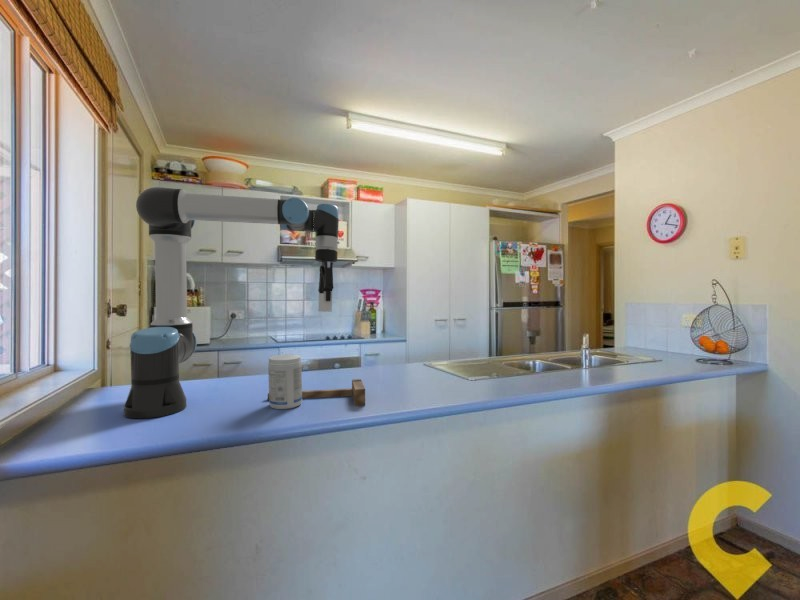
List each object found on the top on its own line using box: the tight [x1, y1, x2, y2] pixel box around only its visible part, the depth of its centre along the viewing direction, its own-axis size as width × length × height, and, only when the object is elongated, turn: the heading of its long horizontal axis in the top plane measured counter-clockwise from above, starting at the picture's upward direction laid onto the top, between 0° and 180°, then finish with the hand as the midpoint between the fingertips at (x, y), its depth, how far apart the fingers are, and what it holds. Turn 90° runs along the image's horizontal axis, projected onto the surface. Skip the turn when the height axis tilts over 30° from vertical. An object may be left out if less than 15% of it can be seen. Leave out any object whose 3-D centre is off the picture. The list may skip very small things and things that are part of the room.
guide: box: [267, 378, 366, 407], centre depth 119 cm, size 30×13×5 cm, turn 101°
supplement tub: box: [267, 353, 303, 410], centre depth 115 cm, size 10×10×15 cm
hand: (324, 311), depth 132 cm, fingers open, 13 cm apart
